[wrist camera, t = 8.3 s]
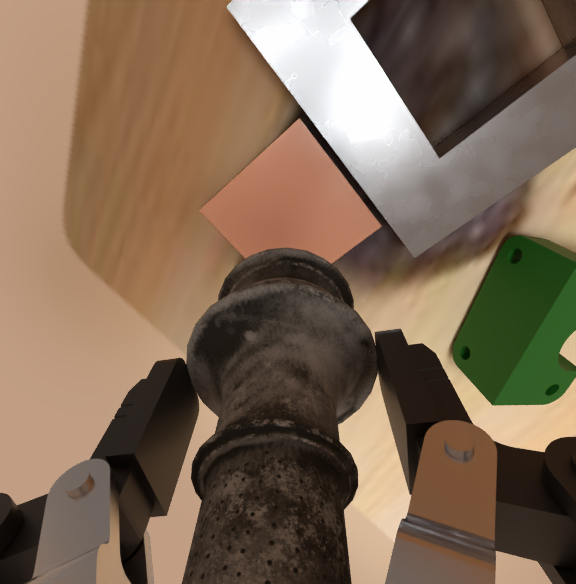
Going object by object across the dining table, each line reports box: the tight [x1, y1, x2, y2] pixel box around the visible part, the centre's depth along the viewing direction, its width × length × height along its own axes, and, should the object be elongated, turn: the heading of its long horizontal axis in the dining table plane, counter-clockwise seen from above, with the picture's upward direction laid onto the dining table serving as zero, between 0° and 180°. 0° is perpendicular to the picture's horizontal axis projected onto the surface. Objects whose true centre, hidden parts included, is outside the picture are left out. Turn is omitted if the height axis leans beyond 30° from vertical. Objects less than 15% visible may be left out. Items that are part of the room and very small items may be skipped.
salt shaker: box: [182, 247, 378, 584], centre depth 10 cm, size 6×6×12 cm
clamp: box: [453, 236, 576, 405], centre depth 27 cm, size 12×6×9 cm, turn 163°
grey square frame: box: [227, 0, 576, 258], centre depth 21 cm, size 18×18×2 cm
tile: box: [199, 118, 382, 264], centre depth 27 cm, size 9×9×1 cm
